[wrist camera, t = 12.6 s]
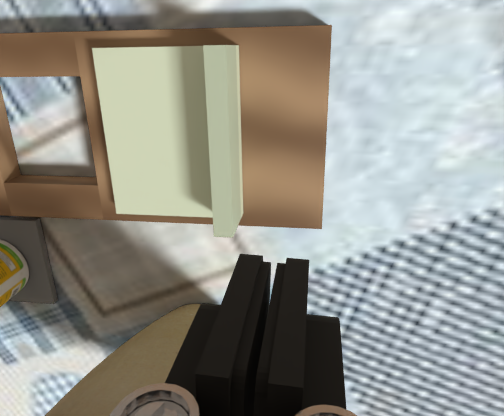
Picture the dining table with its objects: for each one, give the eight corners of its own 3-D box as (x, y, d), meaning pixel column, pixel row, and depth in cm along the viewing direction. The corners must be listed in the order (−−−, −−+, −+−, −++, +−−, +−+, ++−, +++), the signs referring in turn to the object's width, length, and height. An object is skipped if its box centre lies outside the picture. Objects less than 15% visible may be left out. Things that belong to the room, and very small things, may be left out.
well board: (321, 217, 30) (321, 228, 28) (4, 205, 34) (-14, 214, 32) (330, 26, 26) (331, 25, 24) (-40, 35, 29) (-64, 35, 27)
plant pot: (165, 231, 33) (44, 381, 18) (319, 326, 34) (323, 540, 19) (95, 349, 38) (-41, 536, 24) (229, 427, 40) (179, 651, 25)
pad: (58, 300, 37) (54, 303, 36) (-22, 294, 38) (-27, 298, 37) (39, 218, 34) (35, 220, 33) (-47, 214, 35) (-52, 217, 34)
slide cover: (243, 213, 29) (232, 237, 25) (122, 208, 30) (95, 231, 26) (238, 45, 25) (225, 44, 21) (99, 47, 26) (64, 48, 22)
